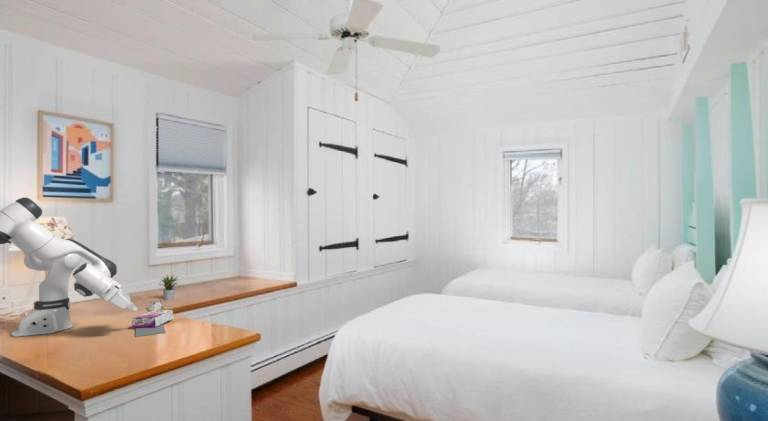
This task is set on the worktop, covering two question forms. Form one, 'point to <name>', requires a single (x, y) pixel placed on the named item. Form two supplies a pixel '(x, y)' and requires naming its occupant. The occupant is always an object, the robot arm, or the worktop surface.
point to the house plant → (169, 287)
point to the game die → (154, 306)
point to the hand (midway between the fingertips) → (136, 309)
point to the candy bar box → (152, 318)
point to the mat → (150, 330)
